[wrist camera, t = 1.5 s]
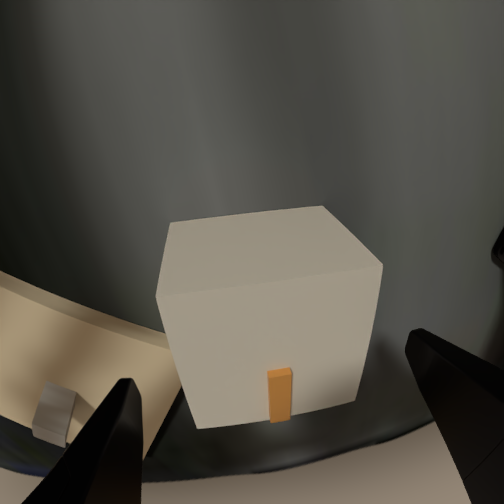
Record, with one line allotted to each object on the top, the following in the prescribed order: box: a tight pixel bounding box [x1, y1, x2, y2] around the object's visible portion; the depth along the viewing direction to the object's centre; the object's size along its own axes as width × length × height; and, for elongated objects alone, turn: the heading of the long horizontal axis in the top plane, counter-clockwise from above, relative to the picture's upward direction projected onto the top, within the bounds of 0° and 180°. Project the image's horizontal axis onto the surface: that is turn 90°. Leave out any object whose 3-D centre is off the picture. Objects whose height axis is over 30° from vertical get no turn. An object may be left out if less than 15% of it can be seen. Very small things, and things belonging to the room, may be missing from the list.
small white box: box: [156, 206, 383, 429], centre depth 11 cm, size 6×6×5 cm
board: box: [0, 271, 182, 459], centre depth 13 cm, size 12×12×4 cm
